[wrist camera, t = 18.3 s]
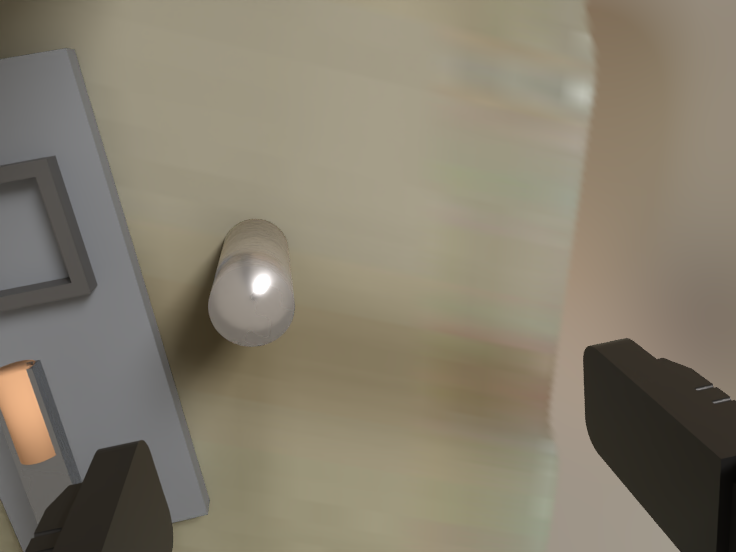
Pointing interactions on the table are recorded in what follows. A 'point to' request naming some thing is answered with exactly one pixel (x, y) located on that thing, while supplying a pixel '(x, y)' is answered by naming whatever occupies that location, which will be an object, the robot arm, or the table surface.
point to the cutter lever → (35, 434)
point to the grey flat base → (79, 289)
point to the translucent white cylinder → (253, 285)
